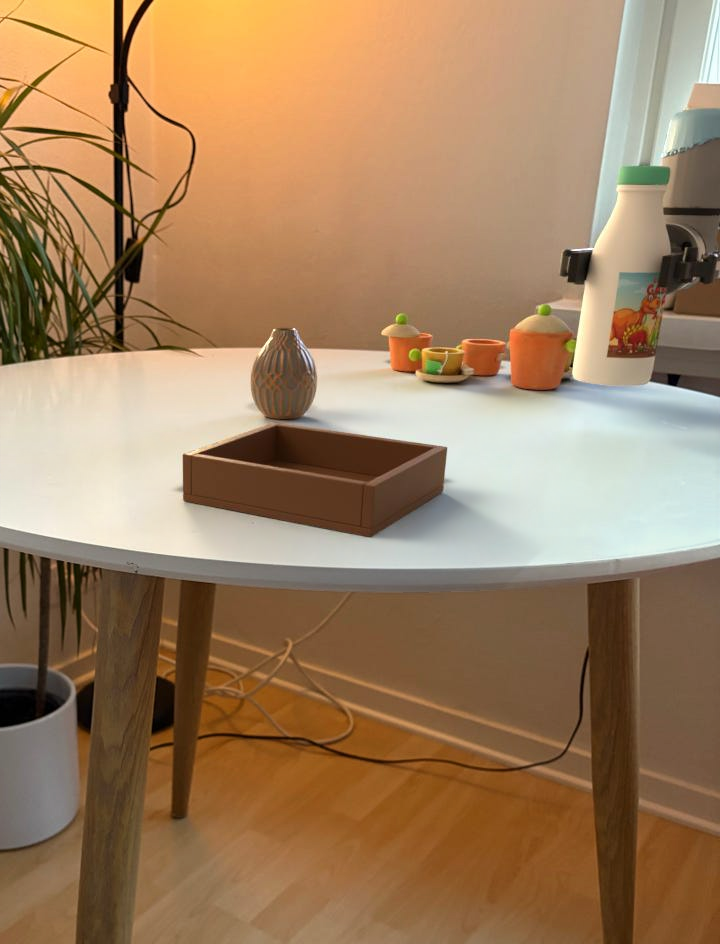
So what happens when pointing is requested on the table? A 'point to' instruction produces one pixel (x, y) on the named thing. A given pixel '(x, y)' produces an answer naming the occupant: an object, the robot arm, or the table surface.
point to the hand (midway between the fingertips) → (617, 269)
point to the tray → (315, 477)
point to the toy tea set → (489, 353)
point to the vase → (284, 376)
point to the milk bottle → (625, 285)
